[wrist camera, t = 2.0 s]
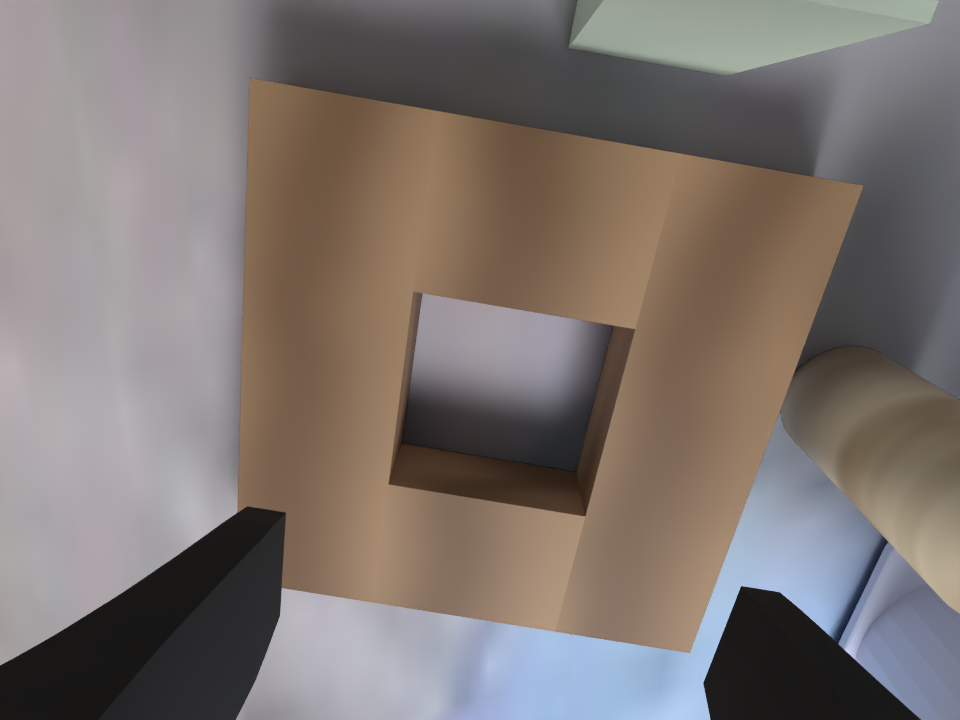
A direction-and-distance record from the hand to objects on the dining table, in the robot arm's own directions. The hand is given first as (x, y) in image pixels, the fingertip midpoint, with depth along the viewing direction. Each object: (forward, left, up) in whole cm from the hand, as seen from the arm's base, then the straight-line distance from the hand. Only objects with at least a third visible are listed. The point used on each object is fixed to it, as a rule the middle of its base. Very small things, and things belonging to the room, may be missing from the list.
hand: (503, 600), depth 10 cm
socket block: (0, 0, -9) cm, 9 cm away
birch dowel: (-10, -1, -9) cm, 14 cm away
